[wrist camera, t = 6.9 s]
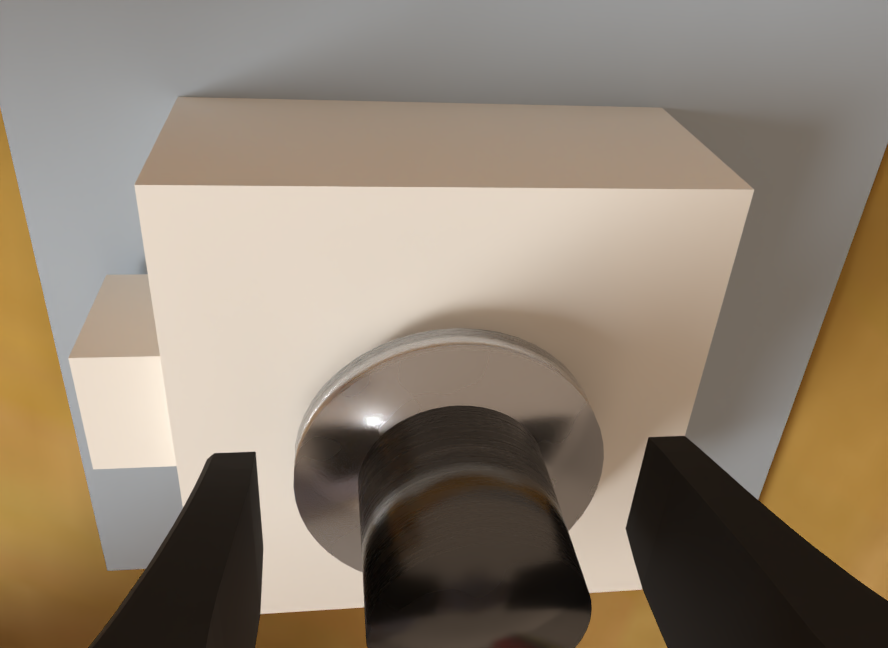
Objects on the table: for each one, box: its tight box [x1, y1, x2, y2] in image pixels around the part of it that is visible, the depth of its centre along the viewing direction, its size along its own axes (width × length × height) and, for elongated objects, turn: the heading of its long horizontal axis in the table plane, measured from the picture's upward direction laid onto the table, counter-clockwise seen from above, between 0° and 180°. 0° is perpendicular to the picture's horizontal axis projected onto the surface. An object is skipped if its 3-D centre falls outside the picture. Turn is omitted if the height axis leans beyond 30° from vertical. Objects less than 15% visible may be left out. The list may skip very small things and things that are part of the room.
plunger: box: [293, 328, 604, 648], centre depth 14 cm, size 5×5×8 cm
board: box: [0, 0, 888, 571], centre depth 17 cm, size 17×17×1 cm
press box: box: [68, 97, 754, 614], centre depth 16 cm, size 9×11×4 cm
